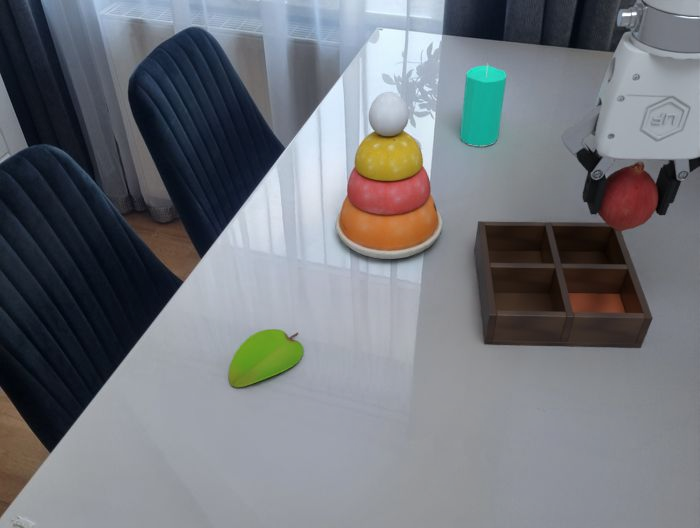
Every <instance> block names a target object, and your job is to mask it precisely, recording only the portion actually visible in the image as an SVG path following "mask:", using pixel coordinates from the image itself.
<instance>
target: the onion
mask: <svg viewBox="0 0 700 528" xmlns="http://www.w3.org/2000/svg"><path fill="white" fill-rule="evenodd" d="M606 179H607V186H606V189H605V193H604V196H603V200H602V203H601V207H600V211H599V213H597V214H598V216H599V217H600V218H601V219H602V220H603V222H604V223H607V224H608V225H609V226H611V227H612V228H613V229H614V230H615V231H619V232H622V233H623V232H625V231H626V230H632V229H635V228H638V227H639V226H642V225H644V224H645V223H646V222H648V221H649V220H650V219H651V218H652V216H653V214H654V213H655V212H656V210H655V209H656V207H657V205H658V190H657V186H656V181H655V180H654V178H653V177H652V175H650V173H649V172H648V171H646V170H645V163H644V162H643V161H637V162H635V163H633V164H631V165H628V166H625V167H622V168H620V169H617V170H615V171H614V172H612V173H611V174H609V175H608V176H607V177H606Z"/></svg>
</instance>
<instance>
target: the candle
mask: <svg viewBox="0 0 700 528" xmlns="http://www.w3.org/2000/svg"><path fill="white" fill-rule="evenodd" d="M506 83H507V75H506V71H505V70H503V69H500V68H496V67H493V66H491V65H489V63H486V65H477V66H475V67H472V68H469V70H467V72H466V73H465V83H464V91H463V92H464V93H463V103H462V113H461V125H460V135H459V137H460V136H461V137H460V139H462V140H461V142H462V141H464V142H466V143H467V144H472V145H478V146H480V145H481V146H482V145H489V144H491V143H494V142H495V141H496V140H497V138H498V139H499V133H500V126H501V120H502V119H501V118H502V112H503V104H504V97H505V91H506V85H507V84H506ZM497 141H498V140H497ZM497 141H496V142H497ZM464 142H463V143H464ZM467 144H466V145H467Z"/></svg>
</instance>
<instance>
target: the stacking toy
mask: <svg viewBox="0 0 700 528" xmlns="http://www.w3.org/2000/svg"><path fill="white" fill-rule="evenodd" d="M409 115H410V114H409V109H408V105H407V104H406V101H405V100H404V99H403V97H401V96H400V95H399V94H397V93H396V92H394V91H384V92H382V93H380V94H379V95H377V96H376V97H375V98H374V100H373V101H372V103H371V104H370V107H369V110H368V122H369V126H370V128H371V129H372V132H370V133H369V134H368V135H367V136H365V138H363V140H361V142H360V143H359V145H358V148H357V149H356V152H355V156H354V167H353V169H352V170H351V173H350V175H349V178H348V181H347V187H346V196H345V198H344V200H343V203H342V205H341V209H340V211H339V212H338V214H337V216H336V219H335V229H336V232H337V234H338V236H339V238H340V239H341V241H342V243H344V244H345V245H346V246H347V247H348V248H350V249H351V250H353V251H354V252H356V253H358V254H360V255H363V256H365V257H369V258H375V259H383V260H394V259H402V258H407V257H412V256H414V255H417V254H420V253H423V251H426V250H427V249H429V248H430V247H431V246H432V245H433V244H434V243H435V242H436V241H437V240H438V238H439V237H440V235H441V233H442V230H443V217H442V216H441V213H440V211H439V210H438V209H437V205H436V202H435V199H434V198H433V196H432V194H431V192H432V191H431V188H432V187H431V181H430V177H429V174H428V172H427V170H426V168H425V166H424V158H423V157H424V156H423V153H422V150H421V148H420V146H419V144H418V142H417V141H416V139H415V138H414V137H413V136H412V135H410V134H409V133H408V132H406V131H405V128H406V127H407V125H408V123H409V118H410V117H409Z"/></svg>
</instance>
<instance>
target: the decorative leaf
mask: <svg viewBox="0 0 700 528" xmlns="http://www.w3.org/2000/svg"><path fill="white" fill-rule="evenodd" d="M297 335H299V332H295V333H294V334H292V335H291V336H290V337H289V336H288V334H287V333H286V332H285V331H284V330H282V329H278V328H277V329H276V328H269V329H264V330H259V331H257V332H255V333H253V334H252V335H250V336H249V337H248V338H246V339H245V340H244V341H243V342H242V344H241V345H240V346H239V347H238V348H237V350H236V352H235V353H234V355H233V357H232V359H231V362H230V365H229V369H228V382H229V384H230V386H232V387H233V386H234V387H233V388H243V387H246V386H249V385H253V384H255V383H258V382H260V381H264V380H266V379H268V378H271V377H273V376H277V375H278V374H280V373H283V372H284V371H286V370H289V369H290V368H292V367H294V366H295V365H296V364H297V363H298V362H300V361H301V359H302V357H303V355H304V346H303V344H302V343H301V342H300V341H298V340H295V339H293V338H294V337H296V336H297Z"/></svg>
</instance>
